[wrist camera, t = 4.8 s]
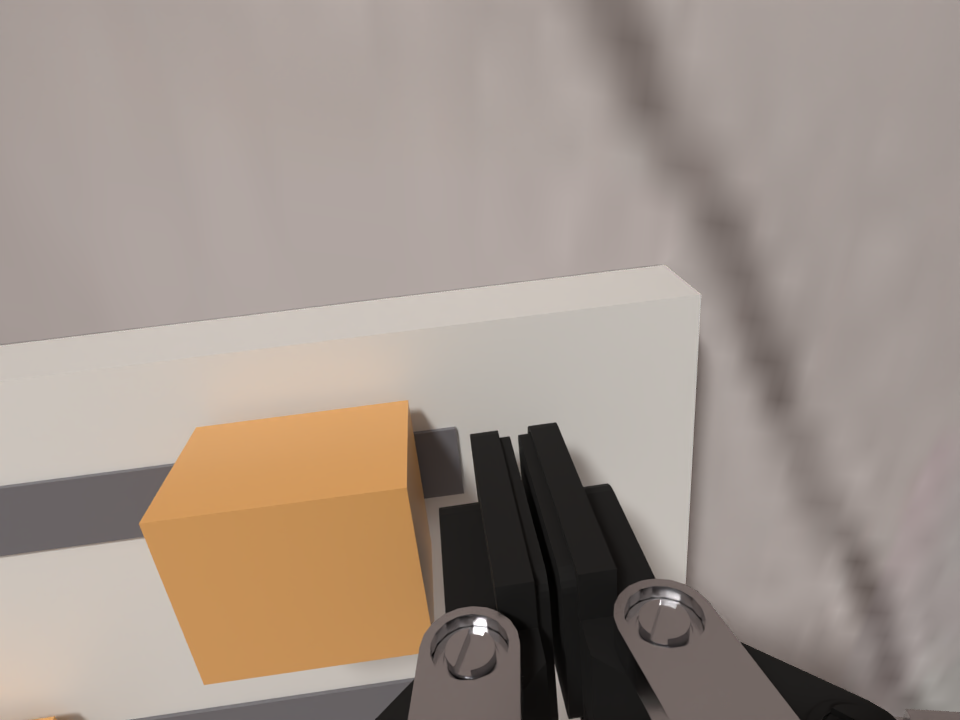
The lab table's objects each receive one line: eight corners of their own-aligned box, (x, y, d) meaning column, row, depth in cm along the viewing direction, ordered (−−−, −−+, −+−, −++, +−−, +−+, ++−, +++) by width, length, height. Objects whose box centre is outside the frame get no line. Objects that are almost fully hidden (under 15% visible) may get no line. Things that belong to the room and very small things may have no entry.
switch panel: (664, 264, 14) (705, 297, 12) (653, 674, 20) (679, 741, 18) (-593, 417, 13) (-771, 480, 11) (-231, 806, 19) (-307, 894, 17)
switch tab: (408, 399, 12) (406, 487, 10) (431, 543, 14) (435, 651, 11) (196, 427, 12) (138, 524, 10) (243, 569, 14) (204, 684, 11)
